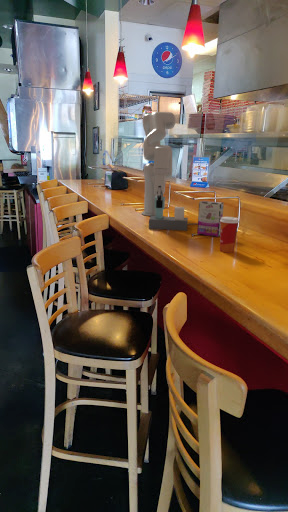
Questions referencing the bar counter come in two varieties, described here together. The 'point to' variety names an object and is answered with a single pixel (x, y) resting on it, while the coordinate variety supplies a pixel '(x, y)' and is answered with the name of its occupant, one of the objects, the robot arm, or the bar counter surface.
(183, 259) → the bar counter surface
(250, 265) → the bar counter surface
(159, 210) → the teal plug
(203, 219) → the candy bar box
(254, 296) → the bar counter surface
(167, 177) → the robot arm
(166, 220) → the block
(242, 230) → the bar counter surface
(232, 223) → the paper cup
